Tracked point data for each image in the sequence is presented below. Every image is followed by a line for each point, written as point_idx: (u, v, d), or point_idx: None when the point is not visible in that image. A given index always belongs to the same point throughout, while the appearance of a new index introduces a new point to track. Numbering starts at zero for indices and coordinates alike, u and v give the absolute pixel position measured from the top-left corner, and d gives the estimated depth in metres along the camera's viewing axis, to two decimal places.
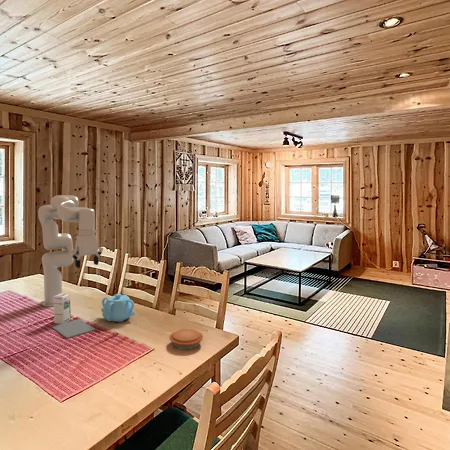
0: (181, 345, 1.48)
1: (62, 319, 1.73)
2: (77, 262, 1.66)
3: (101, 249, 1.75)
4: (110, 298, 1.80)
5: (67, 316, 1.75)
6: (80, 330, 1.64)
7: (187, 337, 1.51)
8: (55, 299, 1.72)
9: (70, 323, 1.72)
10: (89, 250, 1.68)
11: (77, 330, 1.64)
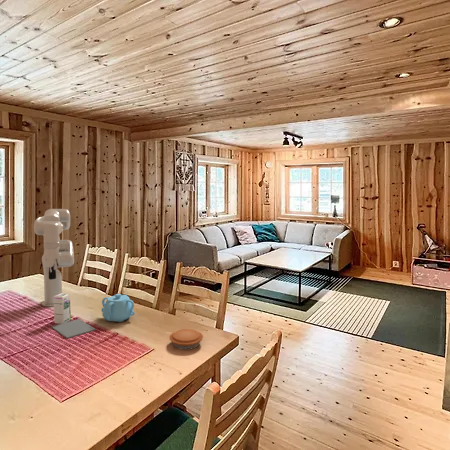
0: (181, 345, 1.48)
1: (62, 319, 1.73)
2: (54, 274, 1.81)
3: None
4: (110, 298, 1.80)
5: (67, 316, 1.75)
6: (80, 330, 1.64)
7: (187, 337, 1.51)
8: (55, 299, 1.72)
9: (70, 323, 1.72)
10: None
11: (77, 330, 1.64)
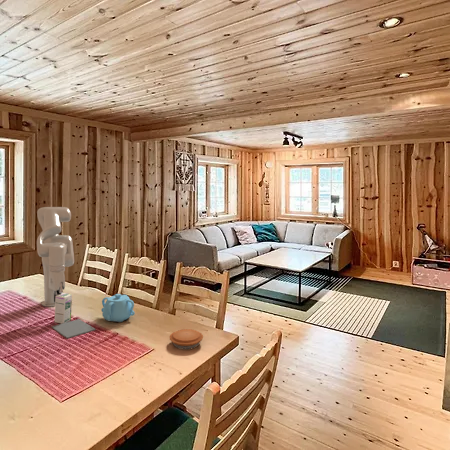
0: (181, 345, 1.48)
1: (63, 319, 1.72)
2: None
3: None
4: (110, 298, 1.80)
5: (68, 316, 1.75)
6: (80, 330, 1.64)
7: (187, 337, 1.51)
8: (57, 299, 1.72)
9: (70, 323, 1.72)
10: None
11: (77, 330, 1.64)
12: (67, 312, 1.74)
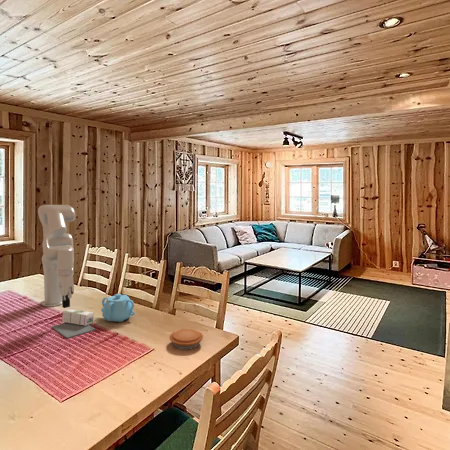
0: (181, 345, 1.48)
1: (66, 321, 1.72)
2: (68, 302, 1.71)
3: None
4: (110, 298, 1.80)
5: None
6: (80, 330, 1.64)
7: (187, 337, 1.51)
8: (83, 317, 1.69)
9: (70, 323, 1.72)
10: None
11: (77, 330, 1.64)
12: None
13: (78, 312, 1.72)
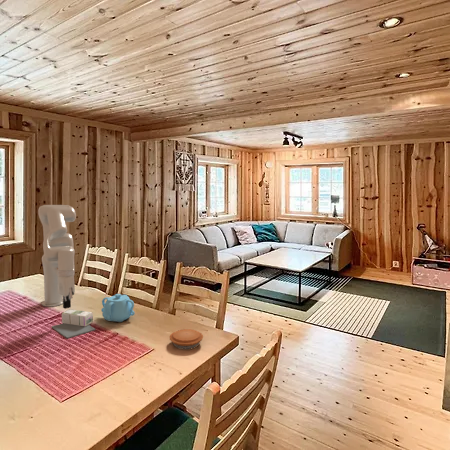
0: (181, 345, 1.48)
1: (65, 322, 1.72)
2: (69, 302, 1.71)
3: None
4: (110, 298, 1.80)
5: None
6: (80, 330, 1.64)
7: (187, 337, 1.51)
8: (82, 318, 1.68)
9: None
10: None
11: (77, 330, 1.64)
12: None
13: (77, 313, 1.71)
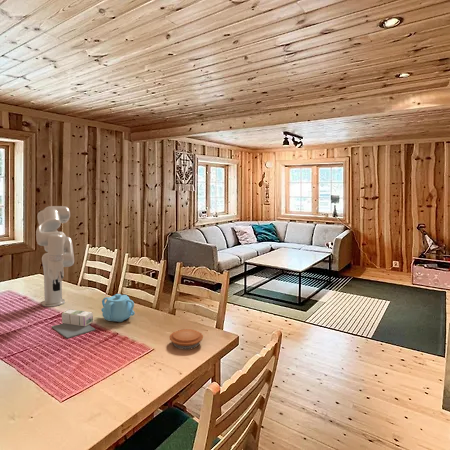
0: (181, 345, 1.48)
1: (65, 322, 1.72)
2: (58, 285, 1.79)
3: None
4: (110, 298, 1.80)
5: None
6: (80, 330, 1.64)
7: (187, 337, 1.51)
8: (82, 318, 1.68)
9: None
10: None
11: (77, 330, 1.64)
12: None
13: (77, 313, 1.71)
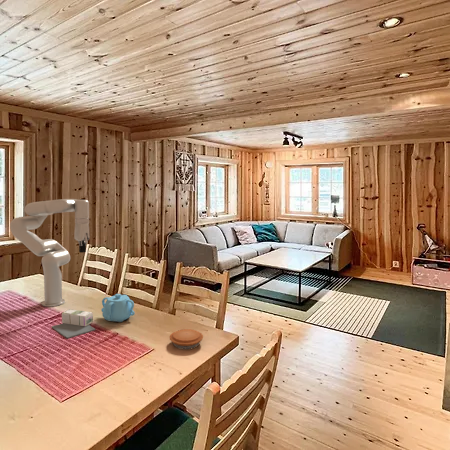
0: (181, 345, 1.48)
1: (65, 322, 1.72)
2: (84, 247, 1.95)
3: None
4: (110, 298, 1.80)
5: None
6: (80, 330, 1.64)
7: (187, 337, 1.51)
8: (82, 318, 1.68)
9: None
10: None
11: (77, 330, 1.64)
12: None
13: (77, 313, 1.71)
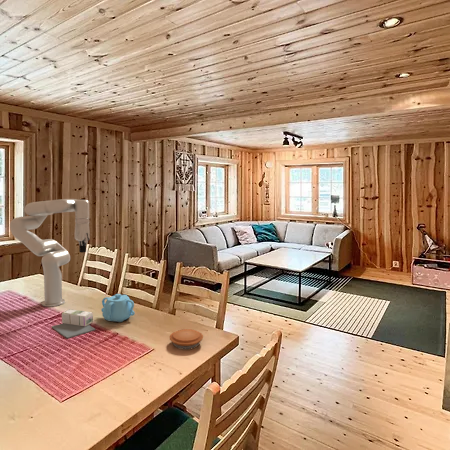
0: (181, 345, 1.48)
1: (65, 322, 1.72)
2: (84, 247, 1.95)
3: None
4: (110, 298, 1.80)
5: None
6: (80, 330, 1.64)
7: (187, 337, 1.51)
8: (82, 318, 1.68)
9: None
10: None
11: (77, 330, 1.64)
12: None
13: (77, 313, 1.71)
